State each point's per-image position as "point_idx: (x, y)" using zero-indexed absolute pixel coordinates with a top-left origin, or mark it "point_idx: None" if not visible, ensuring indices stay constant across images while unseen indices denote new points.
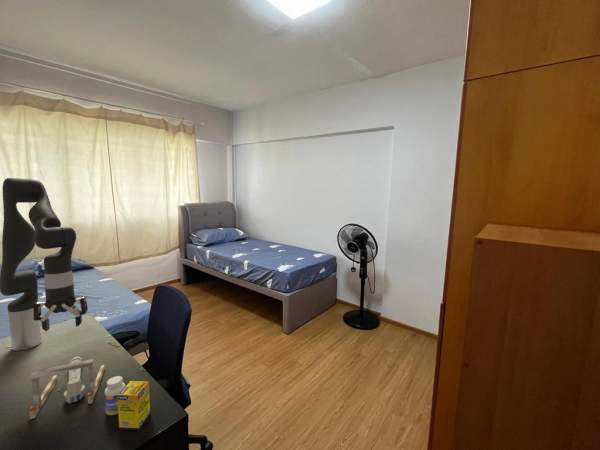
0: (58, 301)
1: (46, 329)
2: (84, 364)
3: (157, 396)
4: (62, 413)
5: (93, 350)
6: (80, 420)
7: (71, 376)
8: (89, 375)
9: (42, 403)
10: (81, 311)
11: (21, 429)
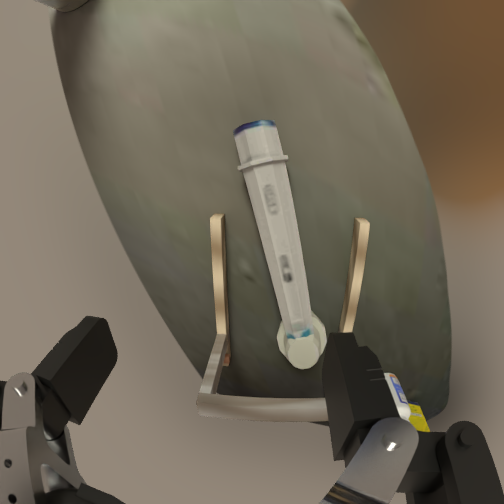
0: None
1: (109, 370)
2: None
3: (441, 372)
4: (284, 365)
5: (293, 44)
6: (322, 391)
7: (287, 311)
8: None
9: (228, 322)
10: (408, 492)
11: None
